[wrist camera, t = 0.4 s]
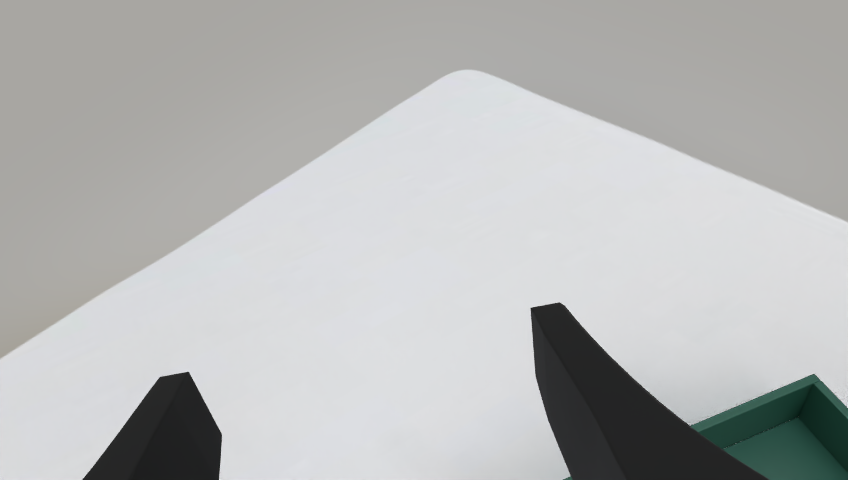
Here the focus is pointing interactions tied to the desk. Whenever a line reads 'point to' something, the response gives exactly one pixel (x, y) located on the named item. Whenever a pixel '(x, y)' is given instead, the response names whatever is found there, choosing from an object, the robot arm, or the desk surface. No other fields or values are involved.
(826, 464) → the dustpan
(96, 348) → the desk surface
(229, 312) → the desk surface
